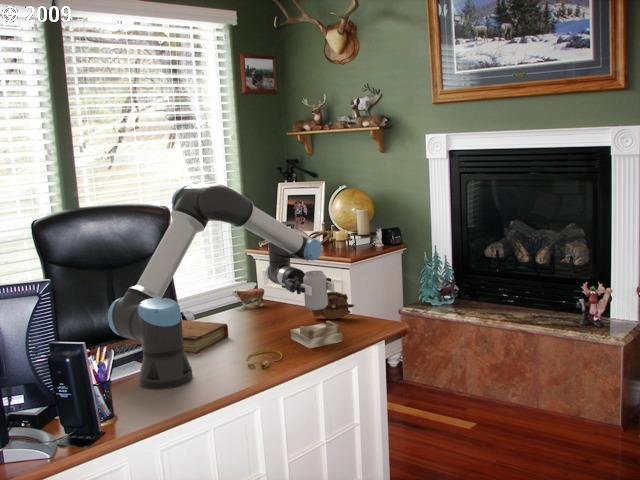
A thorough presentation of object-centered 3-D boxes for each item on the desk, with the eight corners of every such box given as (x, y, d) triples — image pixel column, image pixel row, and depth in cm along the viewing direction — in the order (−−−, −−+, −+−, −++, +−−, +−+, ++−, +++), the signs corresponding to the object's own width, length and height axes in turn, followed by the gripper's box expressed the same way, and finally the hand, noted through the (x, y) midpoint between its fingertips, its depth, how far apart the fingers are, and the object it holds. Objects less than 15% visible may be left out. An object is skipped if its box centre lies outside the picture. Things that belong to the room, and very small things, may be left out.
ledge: (309, 348, 235) (308, 331, 234) (291, 338, 247) (290, 322, 246) (342, 341, 240) (341, 325, 239) (322, 332, 252) (321, 316, 252)
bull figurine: (231, 307, 295) (230, 287, 294) (265, 304, 298) (263, 284, 296) (232, 310, 291) (230, 290, 290) (266, 306, 293) (264, 286, 292)
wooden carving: (310, 321, 268) (308, 294, 266) (311, 317, 272) (309, 291, 270) (355, 319, 266) (353, 293, 264) (355, 316, 270) (354, 290, 268)
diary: (228, 339, 253) (227, 323, 252) (196, 355, 237) (195, 338, 236) (175, 333, 264) (173, 318, 263) (140, 349, 247) (139, 332, 246)
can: (300, 308, 241) (298, 272, 239) (317, 303, 246) (315, 268, 244) (315, 311, 235) (313, 275, 233) (332, 306, 240) (330, 271, 238)
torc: (230, 367, 223) (230, 360, 223) (261, 352, 236) (261, 346, 236) (262, 372, 216) (262, 365, 216) (293, 356, 229) (292, 350, 229)
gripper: (318, 284, 260) (350, 295, 240) (265, 293, 251) (294, 306, 231) (317, 263, 259) (349, 273, 239) (264, 271, 250) (292, 282, 230)
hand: (322, 289), depth 235 cm, fingers closed on can, 7 cm apart
